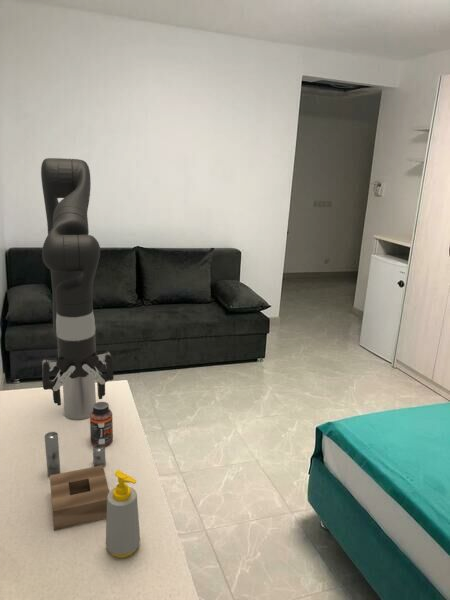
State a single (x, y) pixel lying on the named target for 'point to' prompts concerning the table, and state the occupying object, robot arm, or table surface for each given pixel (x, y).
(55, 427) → the table surface
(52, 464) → the tall pin
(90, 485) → the guide block
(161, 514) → the table surface
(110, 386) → the table surface
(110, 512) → the soap bottle
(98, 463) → the short pin
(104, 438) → the supplement bottle
